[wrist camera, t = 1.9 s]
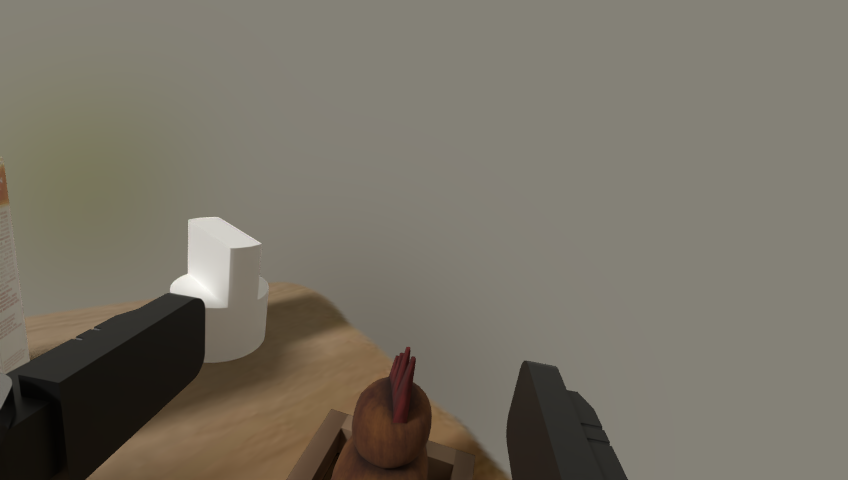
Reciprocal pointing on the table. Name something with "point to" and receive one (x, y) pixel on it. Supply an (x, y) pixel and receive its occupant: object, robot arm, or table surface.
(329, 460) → the square wooden frame
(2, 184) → the coffeecake box
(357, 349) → the table surface
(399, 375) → the wooden figurine
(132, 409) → the robot arm
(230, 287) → the base with upright slab
